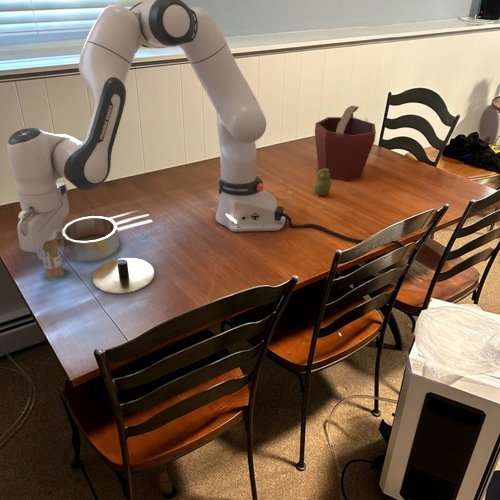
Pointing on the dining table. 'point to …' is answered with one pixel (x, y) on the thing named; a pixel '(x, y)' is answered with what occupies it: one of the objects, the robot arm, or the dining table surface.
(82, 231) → the pan
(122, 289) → the pan lid
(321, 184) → the green figurine
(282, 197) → the dining table surface
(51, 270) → the sprinkles bottle
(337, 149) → the bucket
